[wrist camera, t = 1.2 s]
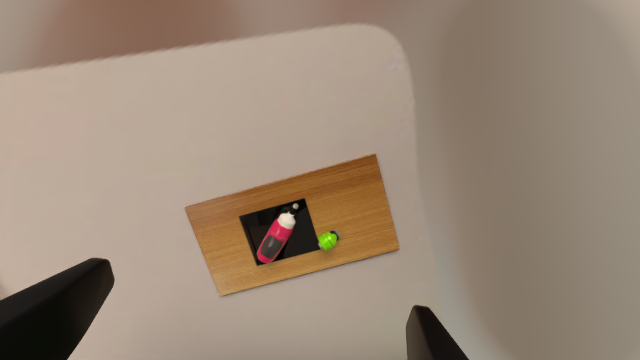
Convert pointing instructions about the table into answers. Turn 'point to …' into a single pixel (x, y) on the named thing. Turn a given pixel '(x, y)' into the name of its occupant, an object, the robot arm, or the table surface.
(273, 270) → the board
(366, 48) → the table surface
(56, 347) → the robot arm
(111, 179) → the table surface
